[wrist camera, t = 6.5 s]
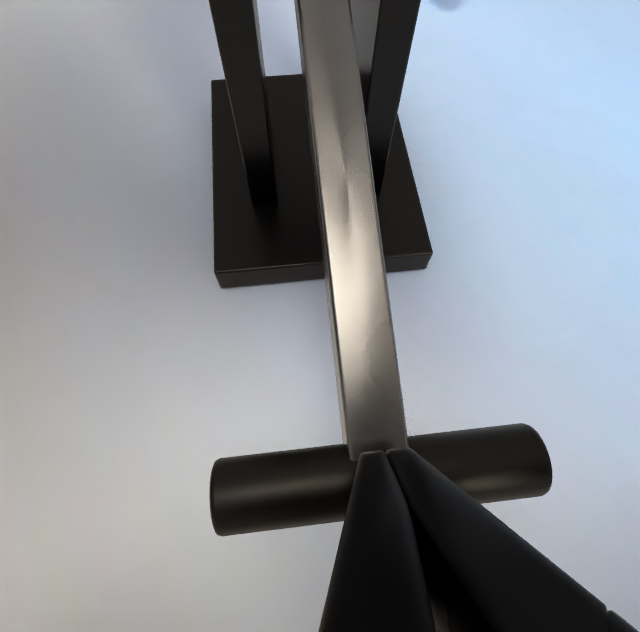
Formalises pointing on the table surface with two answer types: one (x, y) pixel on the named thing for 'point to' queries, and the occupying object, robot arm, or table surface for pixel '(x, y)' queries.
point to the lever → (358, 331)
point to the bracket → (304, 150)
